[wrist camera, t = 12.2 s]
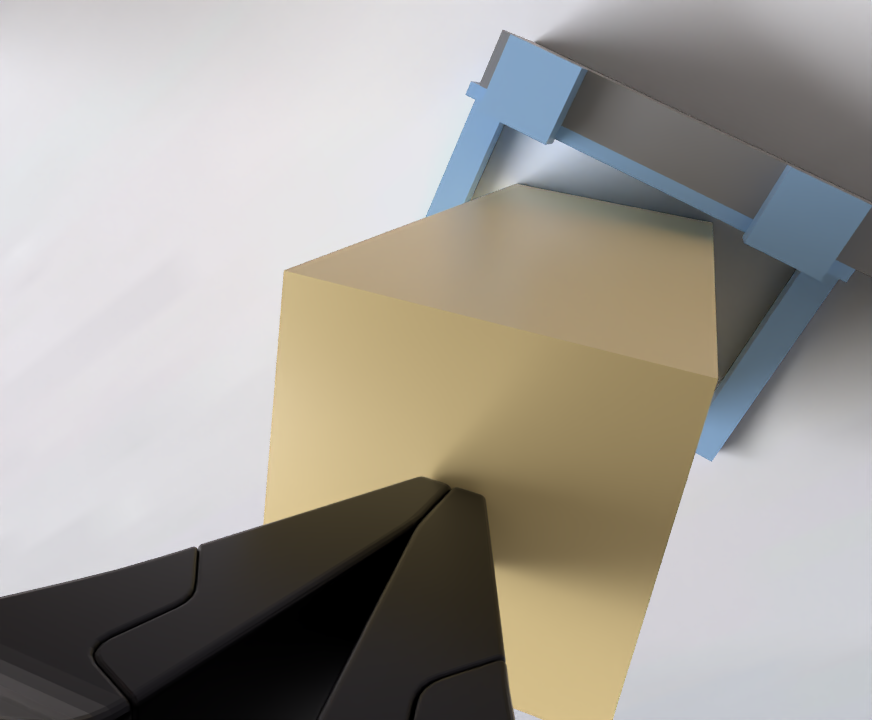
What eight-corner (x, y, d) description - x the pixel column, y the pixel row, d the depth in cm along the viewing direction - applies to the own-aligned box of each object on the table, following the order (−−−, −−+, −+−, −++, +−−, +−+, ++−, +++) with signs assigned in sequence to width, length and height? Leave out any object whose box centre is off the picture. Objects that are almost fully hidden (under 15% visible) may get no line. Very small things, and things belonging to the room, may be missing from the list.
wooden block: (660, 407, 20) (604, 743, 9) (483, 360, 22) (256, 609, 11) (712, 222, 18) (718, 378, 8) (516, 183, 20) (284, 270, 9)
